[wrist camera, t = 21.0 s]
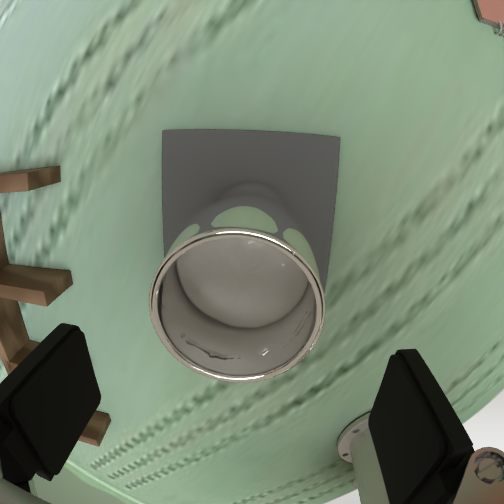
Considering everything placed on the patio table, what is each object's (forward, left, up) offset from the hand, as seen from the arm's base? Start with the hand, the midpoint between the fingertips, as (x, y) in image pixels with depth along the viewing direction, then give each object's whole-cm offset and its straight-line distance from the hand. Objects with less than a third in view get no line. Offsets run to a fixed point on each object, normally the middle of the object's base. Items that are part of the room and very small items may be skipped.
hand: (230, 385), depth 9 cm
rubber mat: (+1, 0, -19) cm, 19 cm away
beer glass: (+1, 0, -18) cm, 18 cm away
